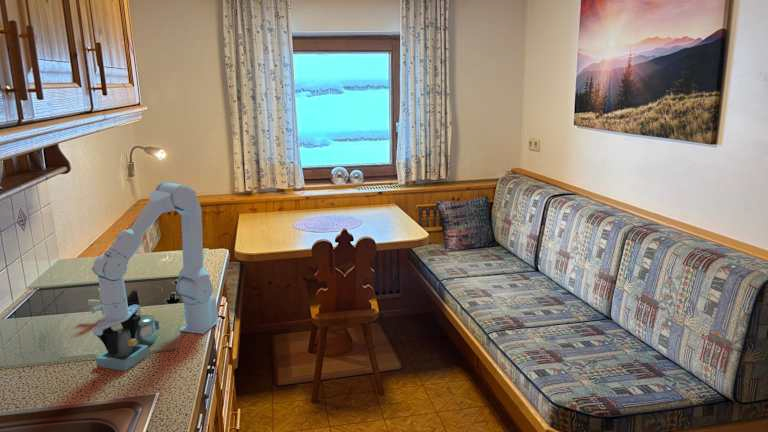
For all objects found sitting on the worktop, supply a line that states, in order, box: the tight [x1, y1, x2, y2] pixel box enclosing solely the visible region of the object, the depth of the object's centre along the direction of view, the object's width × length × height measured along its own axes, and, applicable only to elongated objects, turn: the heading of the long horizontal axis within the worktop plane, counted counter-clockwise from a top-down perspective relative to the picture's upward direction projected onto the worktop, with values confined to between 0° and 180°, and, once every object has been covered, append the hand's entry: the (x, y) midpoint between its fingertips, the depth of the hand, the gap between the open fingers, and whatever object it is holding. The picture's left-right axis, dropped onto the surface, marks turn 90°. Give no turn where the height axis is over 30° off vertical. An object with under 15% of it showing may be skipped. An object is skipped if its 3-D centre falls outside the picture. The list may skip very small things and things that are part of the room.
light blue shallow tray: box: [95, 344, 151, 372], centre depth 148 cm, size 9×9×2 cm
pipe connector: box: [87, 287, 104, 316], centre depth 172 cm, size 10×10×10 cm
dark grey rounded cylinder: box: [113, 327, 137, 360], centre depth 147 cm, size 5×6×8 cm
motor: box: [135, 314, 160, 347], centre depth 157 cm, size 11×7×7 cm
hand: (122, 348), depth 147 cm, fingers open, 6 cm apart
